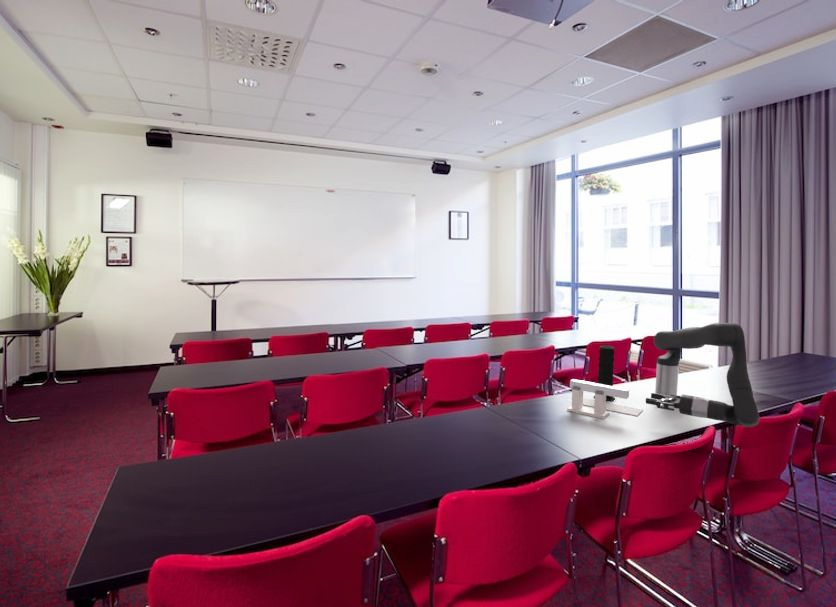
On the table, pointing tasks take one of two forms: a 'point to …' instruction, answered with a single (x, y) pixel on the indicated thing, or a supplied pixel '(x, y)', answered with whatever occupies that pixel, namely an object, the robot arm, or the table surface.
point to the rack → (578, 407)
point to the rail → (600, 388)
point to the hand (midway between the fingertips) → (648, 397)
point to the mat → (614, 407)
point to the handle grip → (606, 367)
